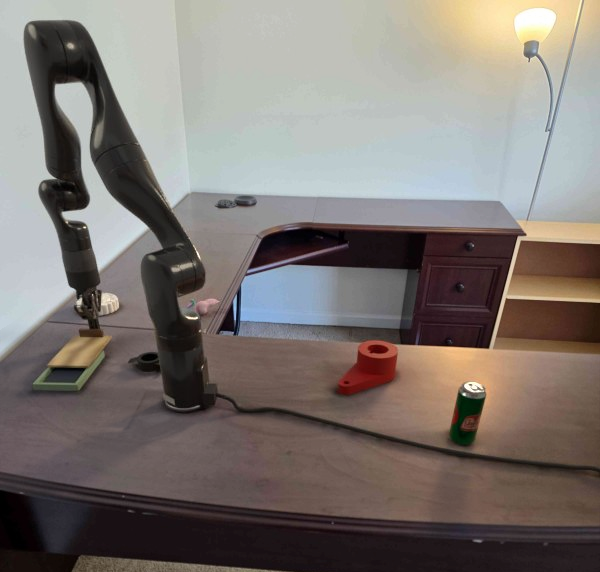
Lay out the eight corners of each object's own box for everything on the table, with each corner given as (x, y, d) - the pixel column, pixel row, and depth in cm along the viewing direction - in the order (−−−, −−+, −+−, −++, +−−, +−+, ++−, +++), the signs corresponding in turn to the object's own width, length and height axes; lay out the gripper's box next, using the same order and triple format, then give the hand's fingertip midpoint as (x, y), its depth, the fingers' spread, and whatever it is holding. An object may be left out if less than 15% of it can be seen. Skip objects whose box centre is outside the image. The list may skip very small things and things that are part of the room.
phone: (97, 357, 125) (96, 354, 124) (74, 387, 112) (73, 384, 112) (69, 357, 125) (68, 354, 124) (43, 387, 112) (42, 383, 112)
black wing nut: (153, 356, 127) (152, 345, 125) (176, 369, 121) (174, 358, 120) (126, 366, 122) (124, 355, 121) (148, 380, 116) (146, 369, 115)
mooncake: (87, 319, 146) (84, 308, 144) (72, 308, 153) (69, 296, 152) (125, 310, 153) (123, 298, 151) (109, 299, 160) (107, 288, 158)
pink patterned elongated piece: (184, 329, 145) (225, 308, 152) (179, 310, 141) (221, 290, 148) (173, 322, 148) (213, 302, 156) (167, 304, 145) (209, 285, 152)
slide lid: (111, 337, 131) (110, 328, 129) (88, 368, 116) (85, 358, 115) (75, 336, 131) (73, 327, 129) (47, 367, 116) (44, 357, 115)
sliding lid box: (105, 357, 126) (103, 350, 125) (79, 392, 111) (77, 384, 110) (66, 356, 126) (64, 349, 125) (34, 391, 111) (32, 384, 110)
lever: (371, 360, 126) (373, 337, 123) (402, 373, 121) (405, 349, 117) (324, 386, 115) (326, 360, 112) (356, 401, 110) (359, 375, 106)
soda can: (459, 449, 96) (471, 396, 89) (443, 434, 100) (453, 383, 93) (480, 443, 98) (493, 391, 91) (463, 429, 101) (475, 378, 95)
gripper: (85, 275, 116) (100, 342, 125) (105, 258, 127) (117, 321, 137) (53, 274, 116) (71, 341, 126) (76, 258, 128) (90, 320, 137)
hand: (95, 331), depth 131 cm, fingers closed
